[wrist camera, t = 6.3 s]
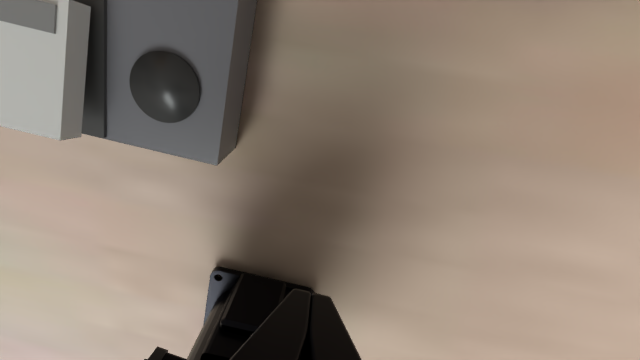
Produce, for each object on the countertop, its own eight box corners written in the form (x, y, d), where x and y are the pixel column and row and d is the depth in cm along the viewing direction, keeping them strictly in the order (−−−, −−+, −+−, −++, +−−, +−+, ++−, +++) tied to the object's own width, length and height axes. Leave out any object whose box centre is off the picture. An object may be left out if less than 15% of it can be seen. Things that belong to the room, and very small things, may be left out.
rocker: (81, 136, 15) (58, 140, 14) (10, 120, 15) (-19, 122, 14) (90, 6, 14) (66, -2, 13) (14, -12, 14) (-18, -23, 13)
